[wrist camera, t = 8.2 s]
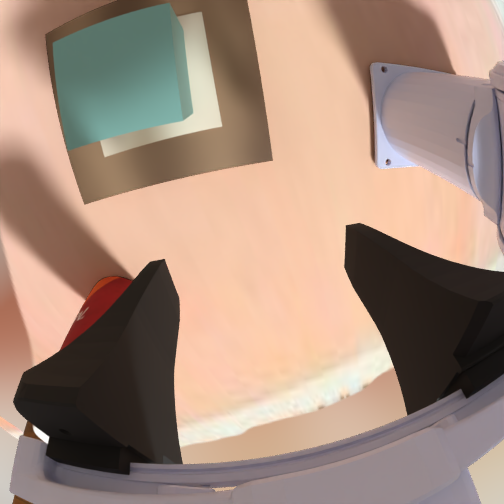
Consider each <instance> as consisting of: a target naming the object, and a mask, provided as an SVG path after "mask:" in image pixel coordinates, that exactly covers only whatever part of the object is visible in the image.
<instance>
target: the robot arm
mask: <svg viewBox="0 0 504 504" xmlns="http://www.w3.org/2000/svg"><path fill="white" fill-rule="evenodd" d="M382 67H384V69H385V72H384V73H383V72H382V70H381V68H382ZM370 73H371V83H372V95H373V110H374V134H375V165H376V166H377V167H378V168H380V169H388V168H400V167H413V166H420V167H422V168H424V169H426V170H428V171H430V172H432V173H434V174H435V175H437V176H439V177H441V178H443V179H444V180H446V181H448V182H450V183H451V184H453V185H455V186H457V187H458V188H460V189H462V190H463V191H465V192H467V193H468V194H470V195H471V196H473V197H475V198H476V199H478V200H479V201H481V202H482V204H483V207H484V216H485V217H487V218H488V219H490V220H491V221H492V222H494V223H495V224H496V225H498V226H497V240H498V244H499V247H500V249H501V251H502V253H503V254H504V61H499V62H497V64H496V65H495V66H494V68H493V69H491V70H490V71H489V77H490V80H488V79H482V78H476V77H469V76H461V75H453V74H449V73H444V72H440V71H435V70H430V69H424V68H418V67H412V66H405V65H398V64H389V63H379V62H375V63H372V64H371V66H370ZM387 159H388V163H387V164H386V163H385V162H386V160H387ZM344 268H345V270H346V272H347V275H348V277H349V279H350V281H351V284H352V286H353V288H354V289H355V291H356V293H357V294H358V296H359V298H360V299H361V301H362V303H363V304H364V306H365V307H366V309H367V311H368V312H369V314H370V316H371V317H372V319H373V321H374V322H375V324H376V326H377V328H378V330H379V331H380V333H381V335H382V338H383V340H384V342H385V345H386V347H387V350H388V352H389V355H390V357H391V360H392V363H393V366H394V368H395V371H396V374H397V377H398V381H399V384H400V387H401V391H402V394H403V398H404V402H405V407H406V411H407V416H406V417H403V418H401V419H399V420H396V421H394V422H391V423H389V424H386V425H384V426H381V427H379V428H376V429H373V430H370V431H367V432H365V433H361V434H358V435H355V436H352V437H350V438H346V439H343V440H340V441H336V442H333V443H329V444H325V445H321V446H318V447H313V448H309V449H305V450H300V451H296V452H291V453H287V454H281V455H275V456H269V457H263V458H257V459H249V460H241V461H232V462H221V463H207V464H183V463H182V457H181V452H180V445H179V439H178V431H177V422H176V411H175V396H174V366H175V357H176V348H177V339H178V331H179V322H180V302H179V296H178V294H177V291H176V289H175V286H174V283H173V281H172V278H171V275H170V273H169V270H168V267H167V265H166V262H165V259H162V260H157V261H152V262H149V263H148V264H147V265H146V267H145V268H144V269H143V270H142V271H141V272H140V273H139V275H138V276H137V277H136V278H135V279H134V280H133V282H132V283H131V284H130V285H129V286H128V288H127V289H126V290H125V291H124V292H123V293H122V294H121V296H120V297H119V298H118V299H117V300H116V301H115V302H114V303H113V304H112V306H111V307H110V308H109V309H108V310H107V311H106V312H105V313H104V314H103V315H102V316H101V317H100V318H99V319H98V320H97V321H96V322H95V323H94V324H93V325H92V326H90V327H89V328H88V329H87V330H86V331H85V332H83V333H82V334H81V335H80V336H78V337H77V338H76V339H75V340H74V341H72V342H71V343H70V344H69V345H67V346H66V347H64V348H63V349H62V350H60V351H59V352H57V353H56V354H54V355H53V356H51V357H50V358H48V359H47V360H45V361H43V362H41V363H40V364H38V365H36V366H34V367H33V368H31V369H29V370H27V371H26V372H24V373H23V375H22V378H21V380H20V383H19V386H18V389H17V392H16V394H15V397H14V401H13V403H14V405H15V407H16V409H17V411H18V412H19V413H20V414H21V415H22V416H23V417H24V418H25V419H26V420H28V421H29V422H30V423H31V424H33V425H34V426H35V427H37V428H38V429H39V430H41V431H42V432H43V433H45V434H46V435H47V436H49V441H48V444H47V443H45V442H43V441H40V440H37V439H34V438H30V437H26V436H23V435H21V436H20V437H19V442H18V446H17V451H16V455H15V460H14V466H13V471H12V477H11V483H10V492H11V493H13V494H15V495H17V496H19V497H21V498H23V499H25V500H27V501H29V502H31V503H33V504H481V502H480V499H479V496H478V494H477V491H476V488H475V486H474V483H473V480H472V478H471V475H470V473H469V471H468V468H467V467H469V466H470V465H472V464H473V463H474V462H476V461H477V460H478V459H480V458H481V457H482V456H484V455H485V454H486V453H488V452H489V451H490V450H491V449H492V448H494V447H495V446H496V445H497V444H499V443H500V442H501V441H502V440H503V439H504V272H499V271H491V270H485V269H480V268H475V267H470V266H466V265H463V264H459V263H455V262H452V261H448V260H445V259H442V258H440V257H437V256H434V255H431V254H428V253H426V252H423V251H421V250H419V249H416V248H414V247H412V246H409V245H407V244H405V243H403V242H401V241H399V240H397V239H394V238H392V237H390V236H388V235H386V234H384V233H382V232H380V231H378V230H376V229H373V228H371V227H369V226H366V225H364V224H361V223H357V224H351V225H346V242H345V265H344ZM234 486H237V487H236V488H235V489H233V490H226V491H217V492H215V490H214V489H212V488H218V487H219V488H220V487H234Z"/></svg>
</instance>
